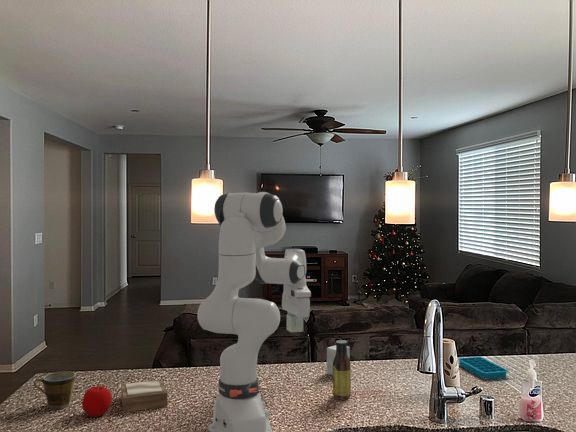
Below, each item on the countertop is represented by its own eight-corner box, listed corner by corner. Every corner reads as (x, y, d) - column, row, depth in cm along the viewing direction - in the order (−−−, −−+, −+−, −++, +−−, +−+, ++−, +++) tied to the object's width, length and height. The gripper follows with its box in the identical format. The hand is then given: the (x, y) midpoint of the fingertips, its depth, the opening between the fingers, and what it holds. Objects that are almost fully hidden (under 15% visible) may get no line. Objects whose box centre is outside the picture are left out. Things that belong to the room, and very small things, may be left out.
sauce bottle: (336, 392, 182) (336, 337, 181) (353, 395, 179) (353, 339, 179) (329, 399, 176) (330, 342, 175) (346, 402, 173) (347, 344, 173)
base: (167, 406, 169) (167, 391, 169) (123, 412, 164) (123, 397, 164) (161, 392, 182) (161, 378, 182) (120, 397, 177) (120, 383, 177)
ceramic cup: (79, 399, 175) (78, 370, 175) (71, 410, 165) (71, 380, 165) (38, 401, 173) (38, 372, 173) (29, 413, 163) (29, 382, 163)
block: (303, 331, 196) (303, 315, 196) (291, 332, 194) (291, 316, 194) (298, 328, 200) (298, 313, 200) (286, 329, 199) (286, 314, 199)
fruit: (115, 415, 161) (114, 384, 161) (84, 422, 157) (84, 390, 156) (108, 406, 169) (108, 376, 169) (79, 412, 164) (79, 381, 164)
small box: (339, 369, 208) (339, 343, 208) (350, 372, 204) (350, 346, 204) (326, 373, 203) (326, 347, 203) (336, 376, 199) (336, 350, 199)
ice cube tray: (480, 363, 218) (480, 356, 218) (510, 378, 198) (510, 371, 198) (455, 365, 215) (455, 358, 215) (483, 381, 196) (484, 373, 195)
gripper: (278, 286, 206) (277, 320, 206) (297, 294, 187) (297, 331, 187) (292, 285, 208) (292, 319, 208) (312, 293, 189) (312, 330, 189)
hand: (294, 325), depth 197 cm, fingers closed on block, 5 cm apart
